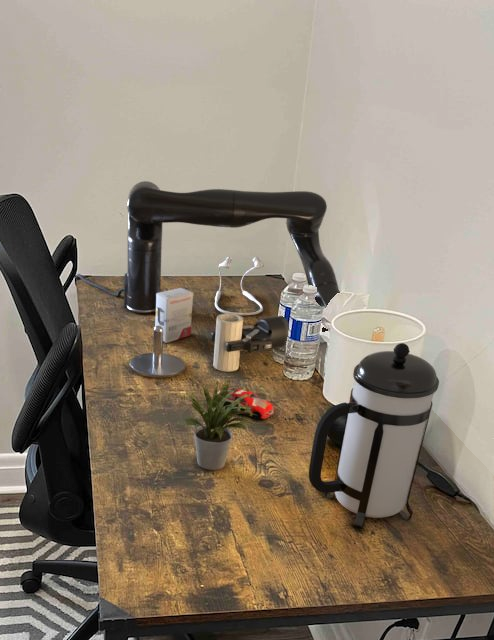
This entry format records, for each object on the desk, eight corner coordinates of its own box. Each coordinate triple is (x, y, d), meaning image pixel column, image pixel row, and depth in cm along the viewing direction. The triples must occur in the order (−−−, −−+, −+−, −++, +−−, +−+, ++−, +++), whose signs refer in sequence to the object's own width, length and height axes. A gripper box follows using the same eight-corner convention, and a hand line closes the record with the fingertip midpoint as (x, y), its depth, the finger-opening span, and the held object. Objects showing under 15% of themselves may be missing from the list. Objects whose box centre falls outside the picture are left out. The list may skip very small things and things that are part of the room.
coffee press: (334, 473, 136) (363, 317, 120) (421, 500, 129) (464, 339, 113) (299, 519, 123) (326, 352, 107) (393, 551, 116) (437, 378, 100)
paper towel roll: (208, 367, 174) (212, 318, 168) (220, 359, 179) (224, 311, 172) (230, 373, 172) (235, 324, 165) (242, 365, 176) (247, 317, 169)
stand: (118, 368, 172) (118, 327, 166) (149, 351, 181) (150, 311, 176) (165, 383, 166) (167, 341, 161) (195, 364, 175) (197, 324, 170)
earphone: (252, 278, 221) (266, 252, 203) (255, 331, 219) (270, 309, 201) (207, 278, 220) (218, 252, 202) (210, 331, 217) (221, 310, 200)
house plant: (191, 493, 129) (196, 409, 120) (155, 456, 139) (158, 376, 130) (259, 475, 134) (269, 394, 126) (220, 440, 145) (227, 364, 136)
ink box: (179, 330, 194) (181, 286, 187) (192, 336, 190) (194, 291, 184) (153, 337, 189) (154, 292, 182) (166, 343, 186) (167, 298, 179)
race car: (277, 414, 155) (279, 397, 153) (265, 423, 151) (268, 406, 149) (222, 397, 161) (224, 380, 159) (210, 406, 157) (211, 389, 155)
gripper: (294, 357, 174) (233, 368, 167) (260, 336, 185) (202, 346, 178) (298, 327, 170) (236, 337, 163) (263, 307, 181) (204, 316, 174)
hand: (219, 342), depth 171 cm, fingers closed on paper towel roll, 6 cm apart
